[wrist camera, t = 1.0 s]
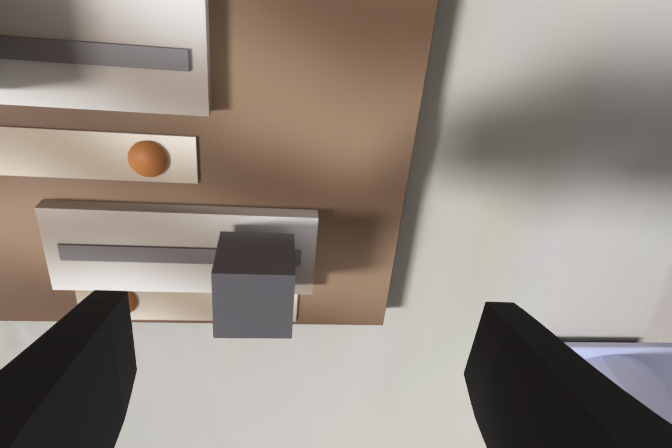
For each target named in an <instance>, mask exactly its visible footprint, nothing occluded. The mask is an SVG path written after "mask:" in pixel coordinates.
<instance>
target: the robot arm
mask: <svg viewBox="0 0 672 448" xmlns="http://www.w3.org/2000/svg"><path fill="white" fill-rule="evenodd" d="M136 371H137V367H136V358H135V349H134V341H133V332H132V324H131V315H130V306H129V298H128V291H110V290H94V291H93V292H92V293H90V294H89V295H88V296H87V297H86V298H84V299H83V300H82V301H81V302H80V303H79V304H77V305H76V306H75V307H74V308H73V309H72V310H70V311H69V312H68V313H67V314H66V315H65V316H64V317H62V318H61V319H60V320H59V321H58V322H57V323H56V324H54V325H53V326H52V327H51V328H50V329H49V330H47V331H46V332H45V333H44V334H43V335H42V336H41V337H39V338H38V339H37V340H36V341H35V342H33V343H32V344H31V345H30V346H29V347H27V348H26V349H25V350H24V351H23V352H21V353H20V354H19V355H18V356H17V357H15V358H14V359H13V360H12V361H11V362H9V363H8V364H7V365H6V366H5V367H3V368H2V369H1V370H0V448H114V446H115V444H116V441H117V439H118V436H119V433H120V430H121V428H122V425H123V422H124V420H125V416H126V412H127V408H128V404H129V400H130V397H131V392H132V388H133V384H134V380H135V375H136ZM464 376H465V380H466V384H467V388H468V393H469V397H470V400H471V404H472V408H473V411H474V415H475V418H476V421H477V424H478V426H479V429H480V432H481V434H482V437H483V439H484V442H485V444H486V447H487V448H672V343H615V342H563V341H562V340H560V339H559V338H558V337H557V336H555V335H554V334H553V333H552V332H551V331H549V330H548V329H547V328H546V327H544V326H543V325H542V324H541V323H539V322H538V321H537V320H536V319H534V318H533V317H532V316H531V315H529V314H528V313H527V312H526V311H524V310H523V309H522V308H520V307H519V306H517V305H516V304H515V303H509V302H486V303H485V306H484V309H483V313H482V316H481V319H480V322H479V326H478V329H477V332H476V335H475V339H474V342H473V345H472V348H471V352H470V355H469V358H468V361H467V365H466V368H465V371H464Z"/></svg>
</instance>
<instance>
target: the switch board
mask: <svg viewBox="0 0 672 448" xmlns="http://www.w3.org/2000/svg"><path fill="white" fill-rule="evenodd" d="M437 5H438V0H0V321H59V320H60V319H61V318H62V317H64V316H65V315H66V314H67V313H68V312H69V311H70V310H72V309H73V308H74V307H75V306H76V305H77V304H79V303H80V302H81V301H82V300H83V299H84V298H86V297H87V296H88V295H89V294H90V293H92V292H93V291H94V290H110V291H128V298H129V306H130V315H131V322H167V323H213V311H212V284H211V272H212V267H213V263H214V258H215V254H216V249H217V245H218V240H219V236H220V231H227V232H257V233H288V234H294V244H295V291H294V307H293V324H338V325H383V321H384V315H385V310H386V304H387V298H388V292H389V286H390V280H391V274H392V269H393V263H394V257H395V251H396V245H397V239H398V233H399V228H400V222H401V216H402V210H403V204H404V198H405V192H406V187H407V181H408V175H409V169H410V163H411V157H412V151H413V146H414V140H415V134H416V128H417V122H418V116H419V110H420V105H421V99H422V93H423V87H424V81H425V75H426V69H427V64H428V58H429V52H430V46H431V40H432V34H433V28H434V23H435V17H436V11H437Z"/></svg>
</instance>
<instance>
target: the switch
mask: <svg viewBox="0 0 672 448" xmlns="http://www.w3.org/2000/svg"><path fill="white" fill-rule="evenodd" d="M211 284H212V311H213V338H292V324H293V307H294V291H295V244H294V234H288V233H257V232H227V231H220V236H219V240H218V245H217V249H216V254H215V258H214V263H213V267H212V272H211Z"/></svg>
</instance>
